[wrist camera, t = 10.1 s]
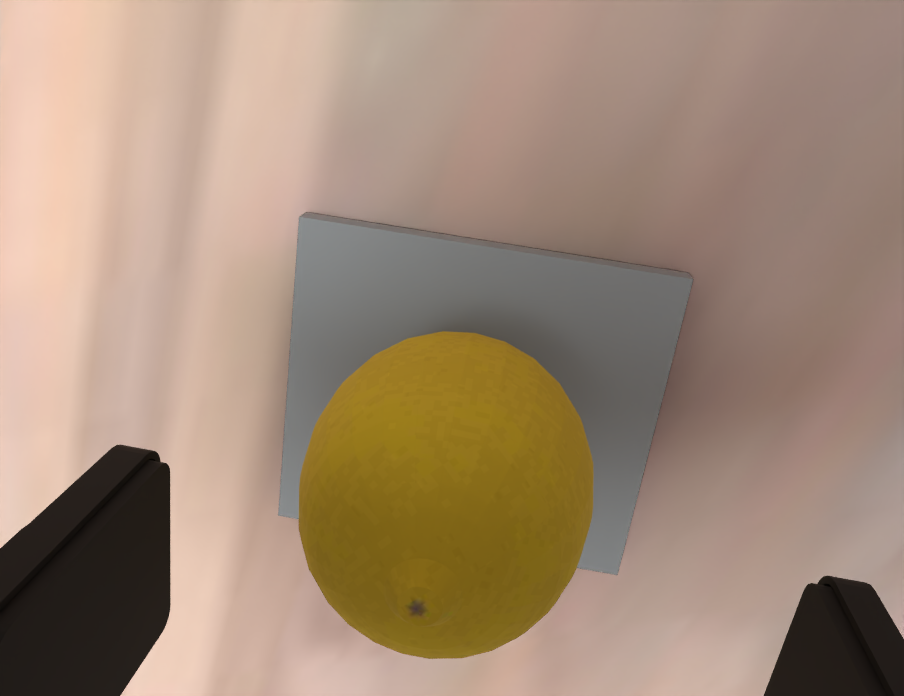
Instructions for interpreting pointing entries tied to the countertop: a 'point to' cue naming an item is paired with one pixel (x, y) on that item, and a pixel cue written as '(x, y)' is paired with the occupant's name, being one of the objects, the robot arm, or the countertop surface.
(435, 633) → the lemon
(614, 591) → the countertop surface
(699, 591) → the countertop surface
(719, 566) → the countertop surface
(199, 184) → the countertop surface
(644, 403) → the mat
